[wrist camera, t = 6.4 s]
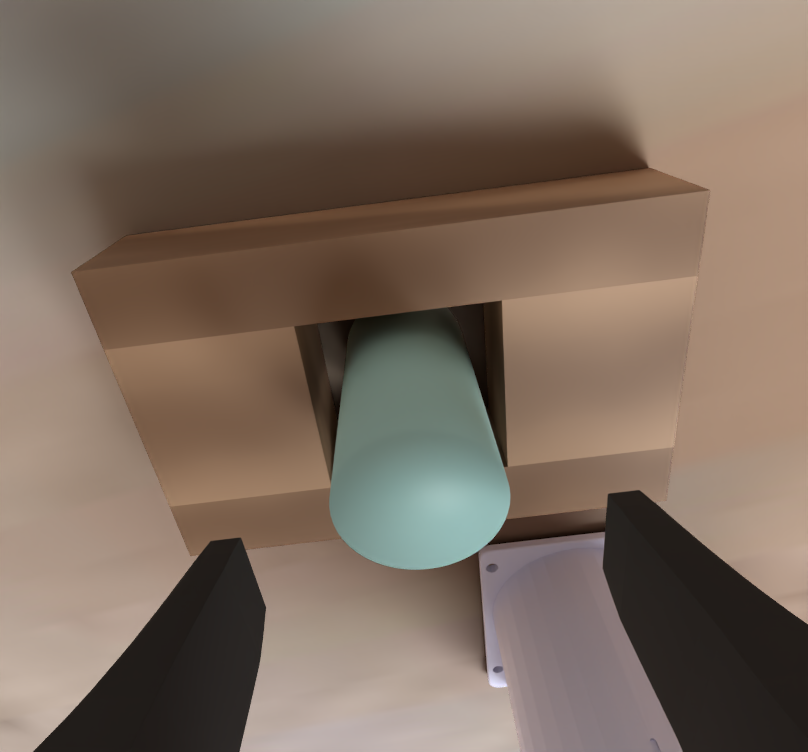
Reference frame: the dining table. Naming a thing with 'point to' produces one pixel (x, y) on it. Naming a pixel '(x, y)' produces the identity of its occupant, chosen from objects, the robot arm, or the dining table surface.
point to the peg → (414, 445)
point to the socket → (398, 293)
